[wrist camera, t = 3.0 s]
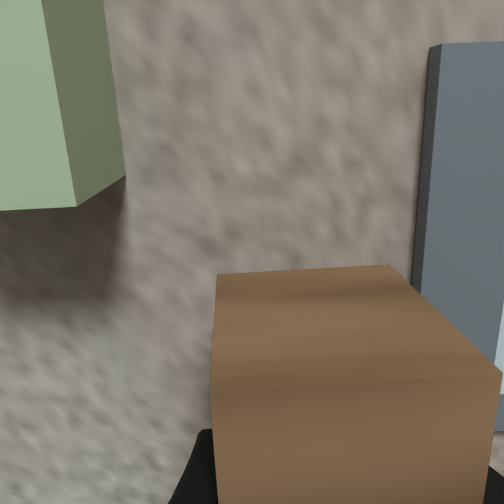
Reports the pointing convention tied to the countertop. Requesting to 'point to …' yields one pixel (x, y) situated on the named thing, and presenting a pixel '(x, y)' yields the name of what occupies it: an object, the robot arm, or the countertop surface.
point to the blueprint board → (464, 196)
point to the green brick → (56, 104)
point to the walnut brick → (345, 392)
